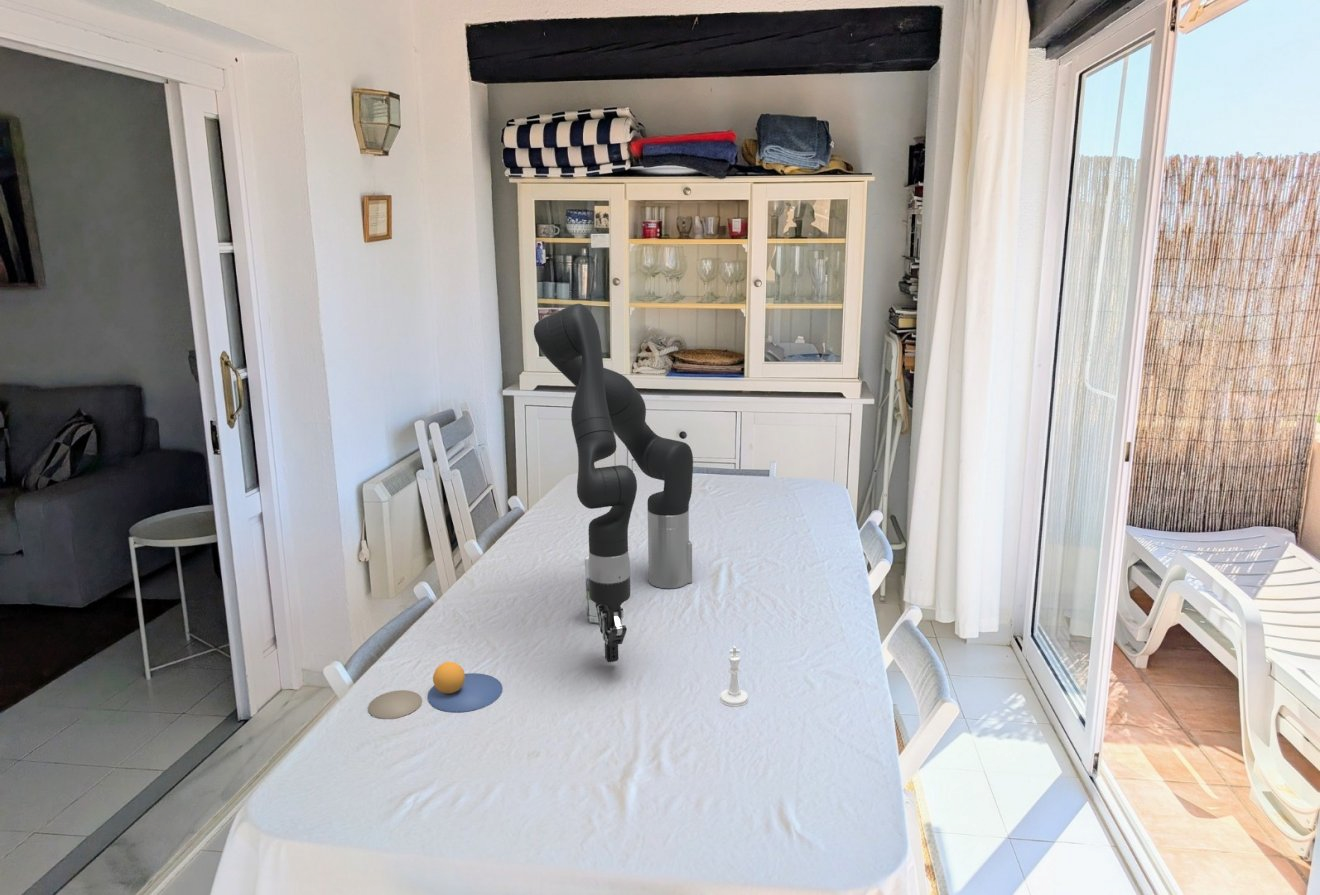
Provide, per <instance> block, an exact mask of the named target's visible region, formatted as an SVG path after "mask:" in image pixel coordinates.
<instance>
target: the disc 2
mask: <svg viewBox="0 0 1320 895" xmlns="http://www.w3.org/2000/svg"><path fill="white" fill-rule="evenodd" d="M502 693H503V685H502V682H500V680H499V679H498V678H496V677H495V676H492V675H488V674H484V673H478V672H477V673H476V672H473V673H471V672H468V673H465V680H464V683H463V685H462V687H461V688H460V689H459V690H458V691H456V692H454V693H451V694H445V693H442V692H440V691H439V690H438V689H437V688H436V687H435V685H434V684H433V685H432V687H431V688H430V689H429V690H428V693H427V702H428V704H430V705H431V707H432V708H435V709H437V710H439V711H442V712H448V713H467V712H473V711H477V710H481V709H483V708H486V707H488V706H490V705H491V704H493V703H495V702H496V701H497V700H498V699H499V697H501V695H502Z"/></svg>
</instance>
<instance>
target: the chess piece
mask: <svg viewBox="0 0 1320 895" xmlns="http://www.w3.org/2000/svg"><path fill="white" fill-rule="evenodd" d="M729 654H730V655H729V656H728V661H729V664H730V666H729V667H728V669H727V671H728V673H730V674H731V676H730V682H729V687H728V688H726V689H724V690H723V691H721V692H720V696H719V701H720V702H721V703H722V704H723V705H726V706H728V707H736V708H737V707H742V706H744V705H746V704H747V703H748V702H749V695H748V693H747V692H746V691H745V690H743V689H741V688H740V686H739V679H738V677H739V676H738V674H739V673H741V672H742V671H741V668H740V667H739V663H740V661H741V656H740V655H738V654H740V649H737V647H736V646H735V645H733V646H732V649H729Z"/></svg>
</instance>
